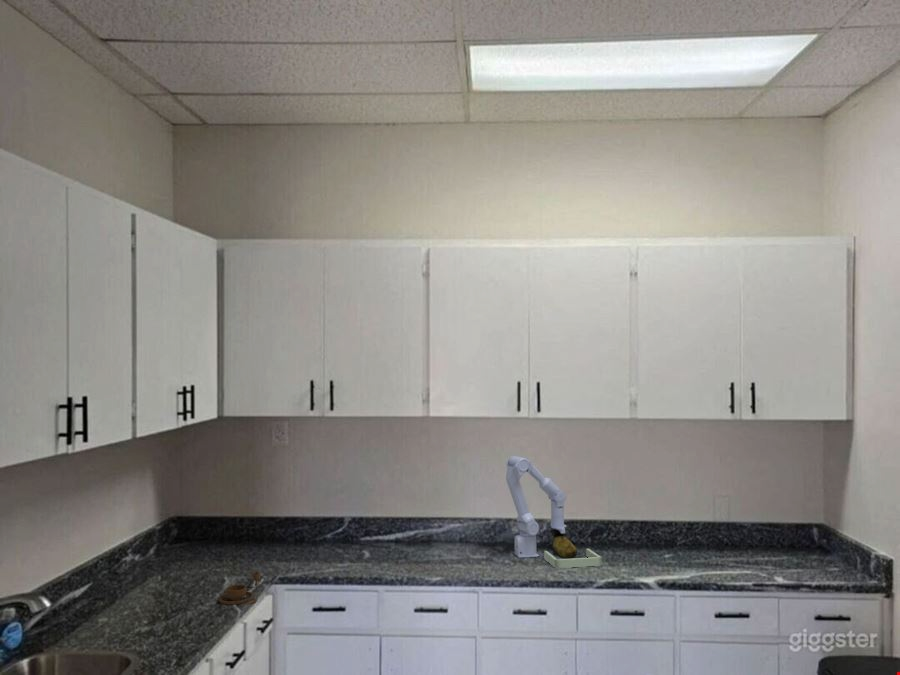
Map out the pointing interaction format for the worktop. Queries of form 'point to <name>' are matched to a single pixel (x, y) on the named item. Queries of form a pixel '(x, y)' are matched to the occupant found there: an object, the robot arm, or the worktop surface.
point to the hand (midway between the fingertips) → (558, 546)
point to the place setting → (239, 593)
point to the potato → (564, 547)
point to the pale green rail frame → (574, 560)
